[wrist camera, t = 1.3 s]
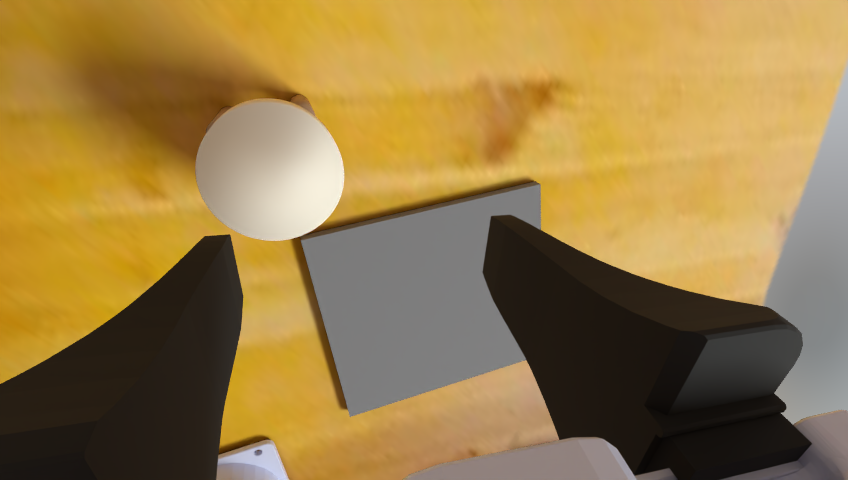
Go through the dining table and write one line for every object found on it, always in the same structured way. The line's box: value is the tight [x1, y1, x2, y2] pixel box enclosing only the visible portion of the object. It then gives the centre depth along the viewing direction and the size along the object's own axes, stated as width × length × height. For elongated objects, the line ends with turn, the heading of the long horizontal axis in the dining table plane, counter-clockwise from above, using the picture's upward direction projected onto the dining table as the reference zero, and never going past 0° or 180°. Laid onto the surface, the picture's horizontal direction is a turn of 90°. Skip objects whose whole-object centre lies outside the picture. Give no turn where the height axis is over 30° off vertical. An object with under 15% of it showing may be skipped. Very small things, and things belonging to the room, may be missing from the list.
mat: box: [300, 182, 541, 417], centre depth 28 cm, size 14×13×1 cm
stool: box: [196, 95, 344, 241], centre depth 19 cm, size 5×5×6 cm
